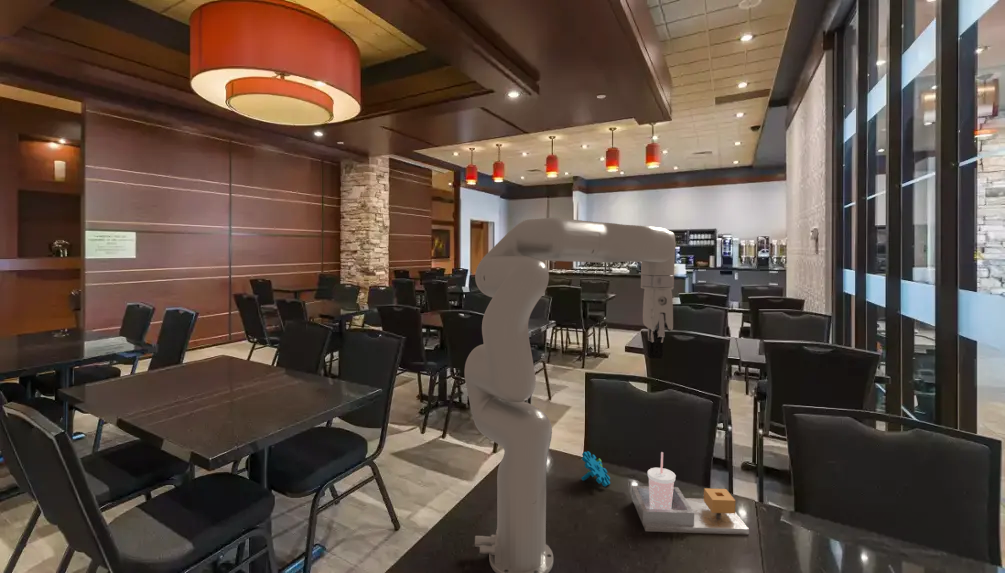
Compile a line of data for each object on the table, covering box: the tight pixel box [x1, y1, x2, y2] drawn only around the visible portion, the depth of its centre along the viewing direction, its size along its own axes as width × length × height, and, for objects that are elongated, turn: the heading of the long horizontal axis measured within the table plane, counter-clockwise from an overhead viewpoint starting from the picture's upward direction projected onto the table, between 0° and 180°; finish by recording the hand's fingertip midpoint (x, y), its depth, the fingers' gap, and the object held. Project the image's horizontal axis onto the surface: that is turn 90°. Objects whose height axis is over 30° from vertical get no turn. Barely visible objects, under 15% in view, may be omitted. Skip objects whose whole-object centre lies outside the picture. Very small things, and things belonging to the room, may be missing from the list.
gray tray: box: [630, 485, 750, 535], centre depth 107 cm, size 22×12×4 cm, turn 87°
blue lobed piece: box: [581, 450, 611, 487], centre depth 123 cm, size 11×6×10 cm
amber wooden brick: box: [703, 487, 736, 513], centre depth 106 cm, size 5×5×3 cm
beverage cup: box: [646, 451, 677, 510], centre depth 106 cm, size 6×6×14 cm
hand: (654, 357), depth 113 cm, fingers closed
